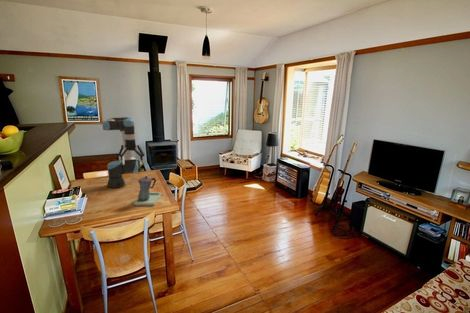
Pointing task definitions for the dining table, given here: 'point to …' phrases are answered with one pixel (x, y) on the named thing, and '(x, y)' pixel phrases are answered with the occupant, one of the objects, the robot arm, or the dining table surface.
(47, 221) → the dining table surface
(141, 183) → the moka pot
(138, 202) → the tray
